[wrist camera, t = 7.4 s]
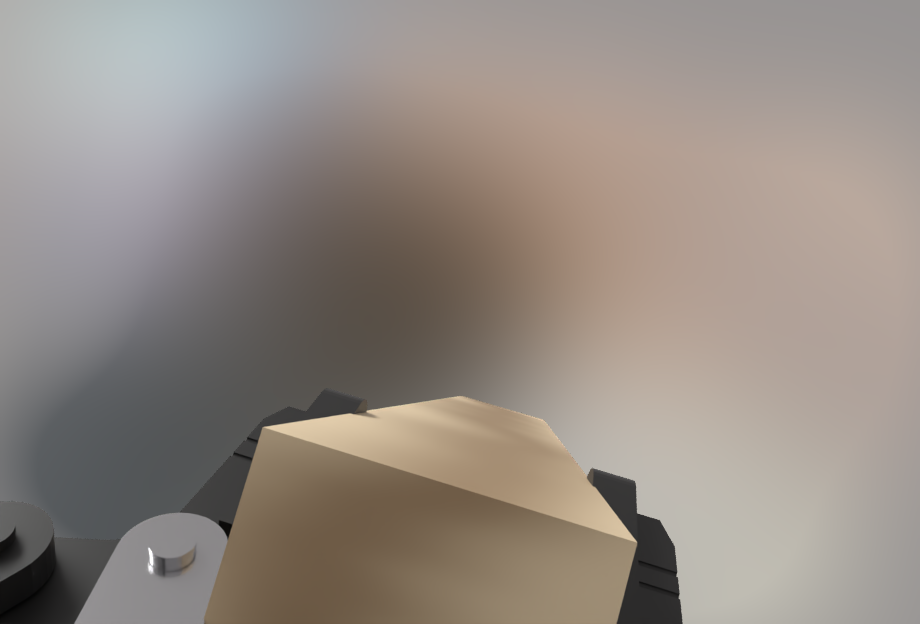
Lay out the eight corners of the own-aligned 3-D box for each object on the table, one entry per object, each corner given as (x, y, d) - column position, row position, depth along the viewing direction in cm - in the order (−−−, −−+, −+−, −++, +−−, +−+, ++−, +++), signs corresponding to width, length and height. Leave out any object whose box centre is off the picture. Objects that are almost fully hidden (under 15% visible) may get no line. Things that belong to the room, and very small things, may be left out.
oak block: (143, 813, 7) (262, 426, 7) (437, 478, 32) (461, 395, 32) (529, 963, 6) (637, 542, 7) (521, 504, 31) (543, 419, 31)
